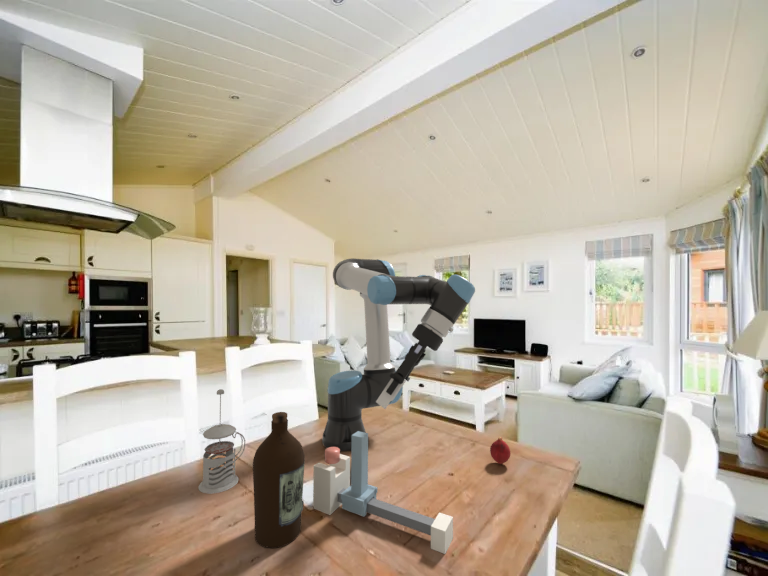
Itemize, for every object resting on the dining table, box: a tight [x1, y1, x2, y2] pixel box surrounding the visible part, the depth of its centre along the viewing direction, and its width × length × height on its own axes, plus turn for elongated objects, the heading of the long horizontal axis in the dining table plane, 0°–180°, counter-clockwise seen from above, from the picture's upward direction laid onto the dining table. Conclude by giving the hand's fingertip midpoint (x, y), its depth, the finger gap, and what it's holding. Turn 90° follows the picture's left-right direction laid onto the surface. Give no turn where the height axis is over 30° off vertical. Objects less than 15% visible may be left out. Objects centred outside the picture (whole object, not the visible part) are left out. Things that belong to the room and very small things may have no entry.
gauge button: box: [324, 447, 341, 465], centre depth 83 cm, size 4×4×2 cm
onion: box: [489, 436, 511, 465], centre depth 103 cm, size 6×6×8 cm
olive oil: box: [252, 411, 306, 549], centre depth 73 cm, size 11×11×25 cm
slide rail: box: [312, 453, 454, 555], centre depth 77 cm, size 32×8×10 cm, turn 61°
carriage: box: [341, 431, 378, 517], centre depth 79 cm, size 6×6×17 cm
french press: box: [197, 389, 246, 495], centre depth 92 cm, size 10×12×25 cm
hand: (384, 401), depth 85 cm, fingers open, 13 cm apart
